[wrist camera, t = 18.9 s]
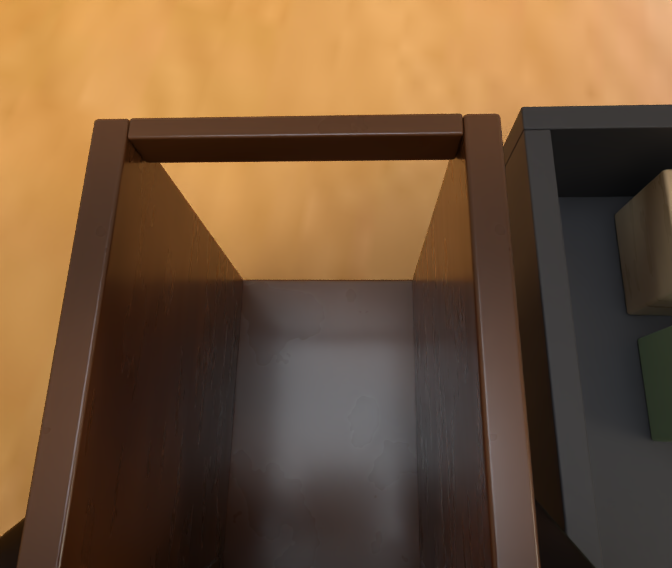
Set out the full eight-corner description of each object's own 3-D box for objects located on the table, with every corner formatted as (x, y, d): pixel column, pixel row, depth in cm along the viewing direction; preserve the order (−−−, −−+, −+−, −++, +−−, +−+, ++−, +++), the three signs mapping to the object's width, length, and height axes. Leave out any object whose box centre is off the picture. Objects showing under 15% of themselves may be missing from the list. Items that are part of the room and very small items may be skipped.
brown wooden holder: (439, 592, 15) (566, 831, 6) (207, 586, 15) (-28, 801, 6) (427, 286, 17) (501, 111, 8) (230, 286, 18) (93, 118, 9)
